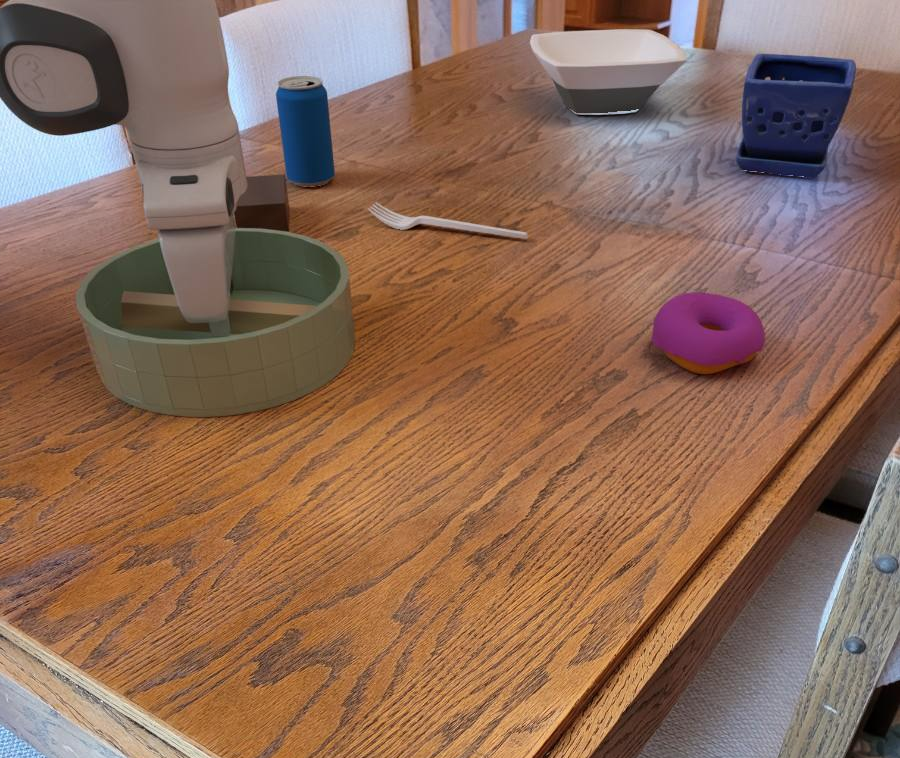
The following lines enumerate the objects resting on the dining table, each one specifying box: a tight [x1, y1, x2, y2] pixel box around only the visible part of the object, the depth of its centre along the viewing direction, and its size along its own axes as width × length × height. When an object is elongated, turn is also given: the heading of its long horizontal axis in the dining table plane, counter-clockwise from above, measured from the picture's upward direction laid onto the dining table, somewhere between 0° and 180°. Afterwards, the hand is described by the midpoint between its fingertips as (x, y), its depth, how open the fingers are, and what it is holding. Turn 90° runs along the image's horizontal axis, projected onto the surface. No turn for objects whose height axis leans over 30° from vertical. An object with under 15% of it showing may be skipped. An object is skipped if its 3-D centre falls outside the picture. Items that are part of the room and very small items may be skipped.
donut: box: [651, 291, 766, 375], centre depth 84 cm, size 10×10×5 cm
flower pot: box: [735, 53, 857, 178], centre depth 119 cm, size 13×13×12 cm
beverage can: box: [275, 75, 336, 187], centre depth 117 cm, size 6×6×12 cm
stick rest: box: [233, 173, 291, 232], centre depth 110 cm, size 6×10×4 cm, turn 8°
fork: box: [367, 201, 529, 240], centre depth 108 cm, size 3×20×2 cm, turn 69°
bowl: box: [529, 28, 688, 113], centre depth 142 cm, size 22×23×8 cm
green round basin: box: [75, 227, 356, 418], centre depth 85 cm, size 25×25×7 cm
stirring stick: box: [121, 291, 316, 334], centre depth 85 cm, size 18×2×2 cm, turn 98°
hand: (222, 323), depth 86 cm, fingers closed on stirring stick, 2 cm apart
